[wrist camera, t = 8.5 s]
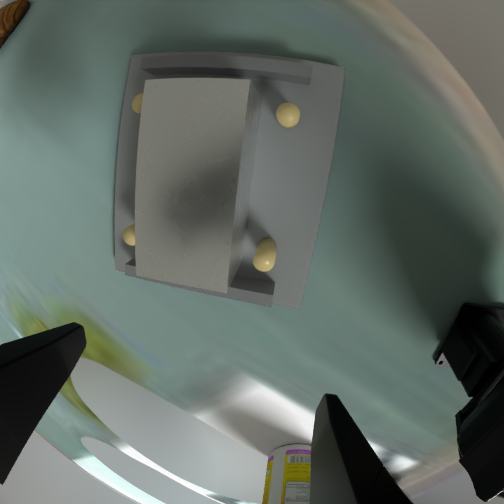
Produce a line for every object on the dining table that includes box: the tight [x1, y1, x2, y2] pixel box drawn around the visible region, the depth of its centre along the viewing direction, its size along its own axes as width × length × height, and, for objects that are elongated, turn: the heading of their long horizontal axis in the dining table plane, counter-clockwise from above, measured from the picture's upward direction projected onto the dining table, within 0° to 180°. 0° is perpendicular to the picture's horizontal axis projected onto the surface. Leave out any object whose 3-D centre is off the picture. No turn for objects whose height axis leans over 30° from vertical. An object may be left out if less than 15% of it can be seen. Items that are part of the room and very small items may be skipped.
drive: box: [135, 78, 262, 293], centre depth 15 cm, size 5×10×5 cm, turn 173°
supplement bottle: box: [262, 444, 311, 504], centre depth 22 cm, size 7×7×13 cm
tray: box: [114, 51, 345, 309], centre depth 17 cm, size 14×16×4 cm
